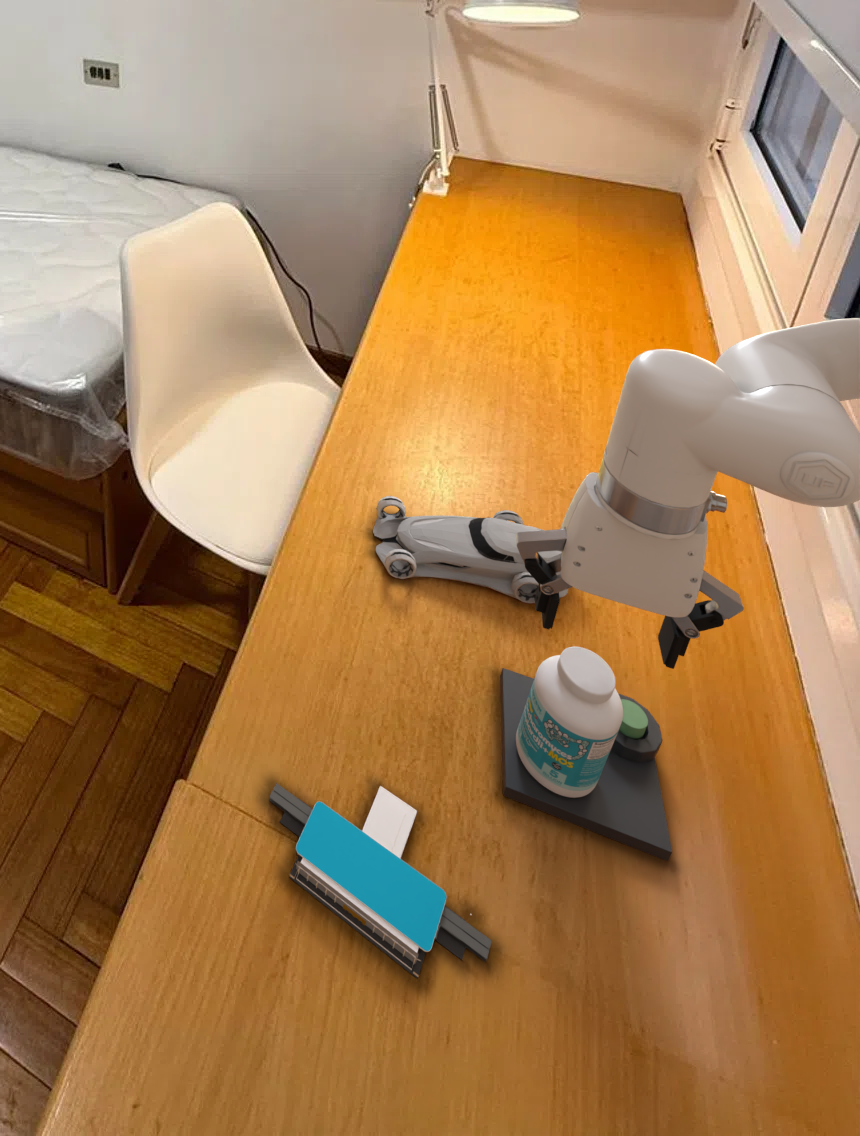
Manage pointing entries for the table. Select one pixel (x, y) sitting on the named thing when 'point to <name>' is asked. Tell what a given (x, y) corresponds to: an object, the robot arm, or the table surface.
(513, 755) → the scale
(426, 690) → the table surface
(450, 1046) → the table surface
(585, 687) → the pill bottle
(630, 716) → the button
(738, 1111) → the table surface
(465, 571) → the car model
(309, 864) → the blue paper trimmer
